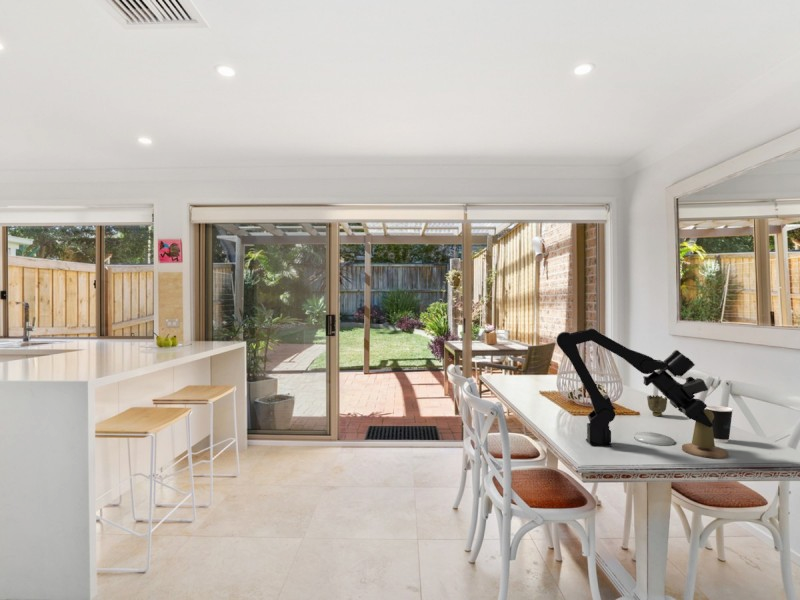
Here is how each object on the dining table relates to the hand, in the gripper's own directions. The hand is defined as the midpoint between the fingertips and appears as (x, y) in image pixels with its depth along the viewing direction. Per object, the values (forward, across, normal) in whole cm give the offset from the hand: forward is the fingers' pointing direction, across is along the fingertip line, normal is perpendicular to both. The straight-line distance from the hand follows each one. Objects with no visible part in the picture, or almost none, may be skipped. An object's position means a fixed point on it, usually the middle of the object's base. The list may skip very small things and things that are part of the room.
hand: (708, 424), depth 142 cm
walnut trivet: (+5, 0, +7) cm, 9 cm away
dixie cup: (+12, +16, +1) cm, 20 cm away
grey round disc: (-3, +10, +16) cm, 19 cm away
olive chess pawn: (+4, 0, +6) cm, 7 cm away
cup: (+4, +49, +9) cm, 50 cm away
